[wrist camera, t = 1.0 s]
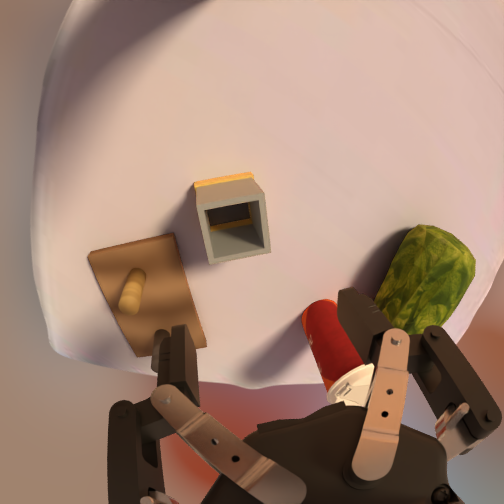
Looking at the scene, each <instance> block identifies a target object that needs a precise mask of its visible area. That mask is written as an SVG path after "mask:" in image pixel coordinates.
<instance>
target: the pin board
mask: <svg viewBox="0 0 504 504" xmlns="http://www.w3.org/2000/svg"><path fill="white" fill-rule="evenodd" d="M88 259H89V261H90V264H91V266H92V269H93V271H94V273H95V276H96V278H97V280H98V283H99V285H100V287H101V289H102V291H103V293H104V296H105V298H106V300H107V302H108V304H109V306H110V308H111V310H112V312H113V314H114V316H115V318H116V320H117V322H118V324H119V326H120V328H121V329H122V331H123V333H124V335H125V337H126V339H127V340H128V342H129V344H130V346H131V348H132V349H133V351H134V353H135V354H136V356H137V357H145V356H152V362H151V369H152V370H153V371H154V372H156V373H158V362H159V348H160V344H161V342H162V341H163V339H164V338H165V337H171V328H172V326H176V325H182V324H187V326H188V329H189V332H190V334H191V337H192V339H193V342H194V345H195V348H196V349H199V348H205V347H207V343H206V338H205V336H204V333H203V330H202V327H201V324H200V321H199V317H198V314H197V311H196V308H195V305H194V302H193V299H192V295H191V292H190V289H189V286H188V282H187V279H186V275H185V272H184V269H183V265H182V262H181V258H180V254H179V251H178V247H177V244H176V240H175V236H174V233H170V234H165V235H161V236H156V237H151V238H147V239H142V240H138V241H134V242H129V243H125V244H120V245H116V246H112V247H108V248H103V249H99V250H95V251H91V252H90V254H89V255H88Z"/></svg>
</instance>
